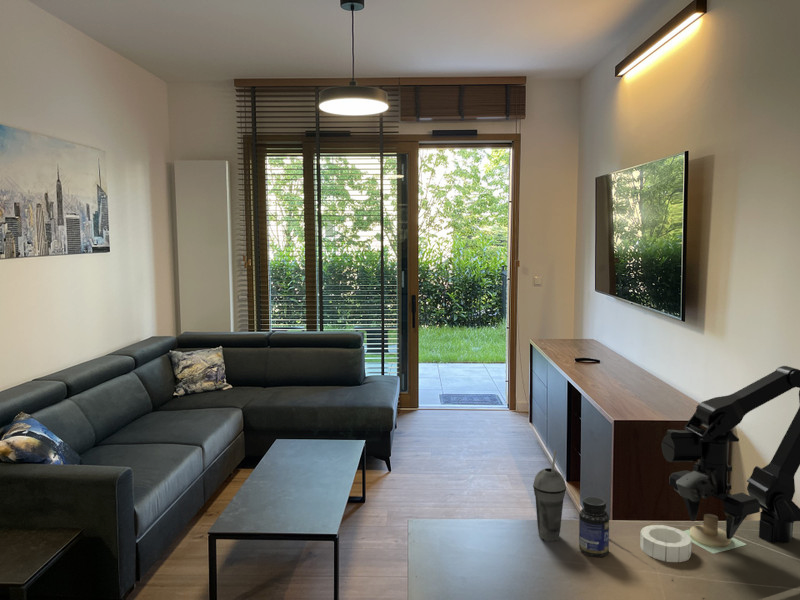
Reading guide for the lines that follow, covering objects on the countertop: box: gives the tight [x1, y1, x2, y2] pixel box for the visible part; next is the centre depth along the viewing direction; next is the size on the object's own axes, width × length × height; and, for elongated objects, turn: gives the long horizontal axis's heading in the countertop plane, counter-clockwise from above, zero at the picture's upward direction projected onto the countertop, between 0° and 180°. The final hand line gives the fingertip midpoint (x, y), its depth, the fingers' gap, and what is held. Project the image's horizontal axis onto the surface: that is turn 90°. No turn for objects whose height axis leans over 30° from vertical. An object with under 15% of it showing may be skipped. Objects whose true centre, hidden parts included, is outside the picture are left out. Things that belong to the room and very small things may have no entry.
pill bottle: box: [578, 496, 610, 558], centre depth 127 cm, size 6×6×11 cm
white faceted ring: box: [639, 524, 693, 563], centre depth 126 cm, size 10×10×4 cm
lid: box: [689, 513, 731, 548], centre depth 130 cm, size 8×8×5 cm
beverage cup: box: [532, 449, 567, 542], centre depth 133 cm, size 7×7×20 cm
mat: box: [682, 528, 748, 554], centre depth 131 cm, size 10×10×1 cm
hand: (710, 529), depth 130 cm, fingers open, 9 cm apart
